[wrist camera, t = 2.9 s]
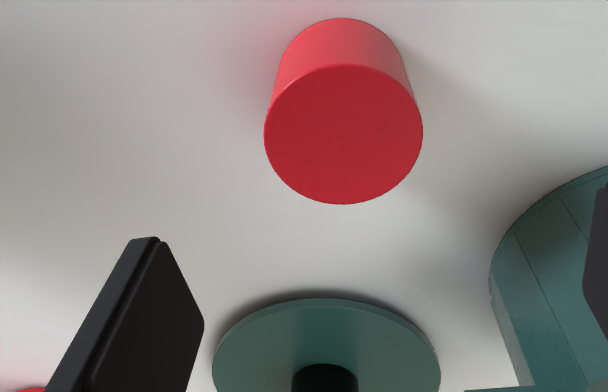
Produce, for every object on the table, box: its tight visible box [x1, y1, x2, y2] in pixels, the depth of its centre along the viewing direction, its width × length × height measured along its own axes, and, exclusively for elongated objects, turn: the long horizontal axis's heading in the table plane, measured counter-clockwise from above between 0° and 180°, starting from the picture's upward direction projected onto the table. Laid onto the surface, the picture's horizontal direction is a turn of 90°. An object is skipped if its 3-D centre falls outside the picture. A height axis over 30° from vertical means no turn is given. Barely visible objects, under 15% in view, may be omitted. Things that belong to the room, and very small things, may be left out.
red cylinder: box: [264, 18, 423, 205], centre depth 17 cm, size 5×5×5 cm
